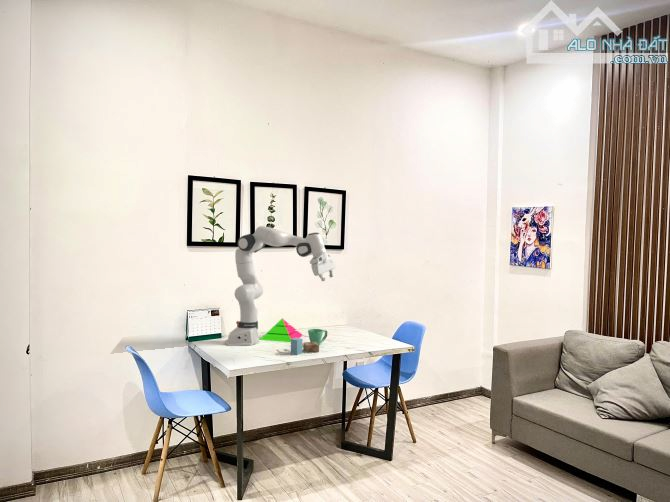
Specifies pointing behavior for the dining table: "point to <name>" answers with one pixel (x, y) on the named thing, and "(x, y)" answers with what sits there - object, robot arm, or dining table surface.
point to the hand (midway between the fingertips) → (327, 279)
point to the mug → (317, 335)
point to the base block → (311, 347)
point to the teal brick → (296, 346)
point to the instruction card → (284, 350)
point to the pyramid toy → (281, 332)
